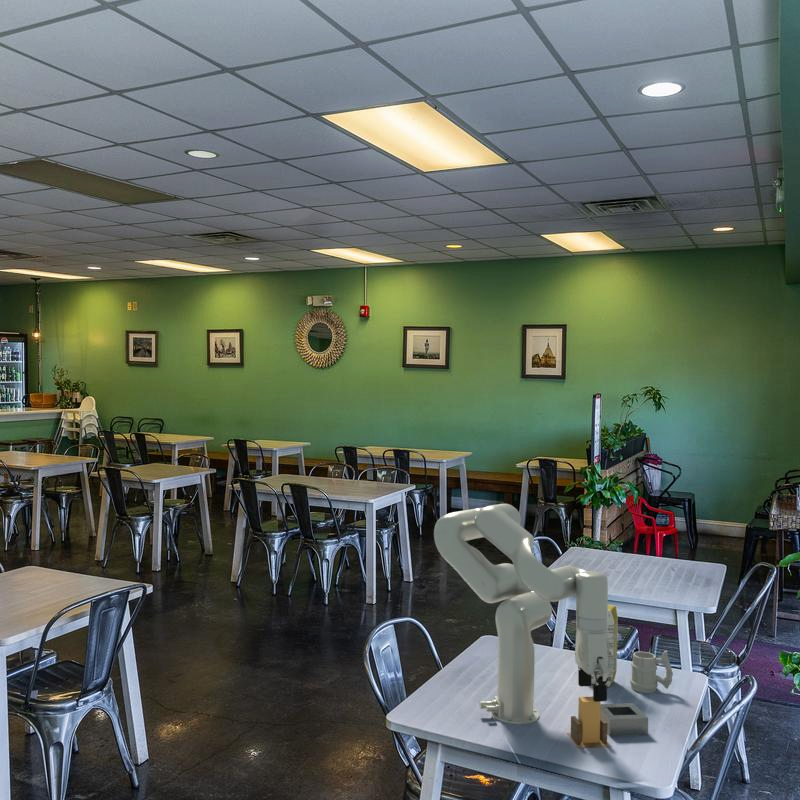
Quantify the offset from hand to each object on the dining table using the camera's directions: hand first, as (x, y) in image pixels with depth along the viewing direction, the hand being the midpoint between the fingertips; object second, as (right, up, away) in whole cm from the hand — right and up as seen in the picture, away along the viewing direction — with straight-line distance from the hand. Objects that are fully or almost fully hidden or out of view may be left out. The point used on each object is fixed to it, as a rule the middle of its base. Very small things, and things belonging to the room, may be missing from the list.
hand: (592, 693), depth 181 cm
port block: (+9, -13, +8) cm, 18 cm away
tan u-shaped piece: (-1, -13, +1) cm, 12 cm away
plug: (-1, -12, +1) cm, 12 cm away
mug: (+26, -13, +35) cm, 46 cm away
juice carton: (+12, -13, +40) cm, 44 cm away
